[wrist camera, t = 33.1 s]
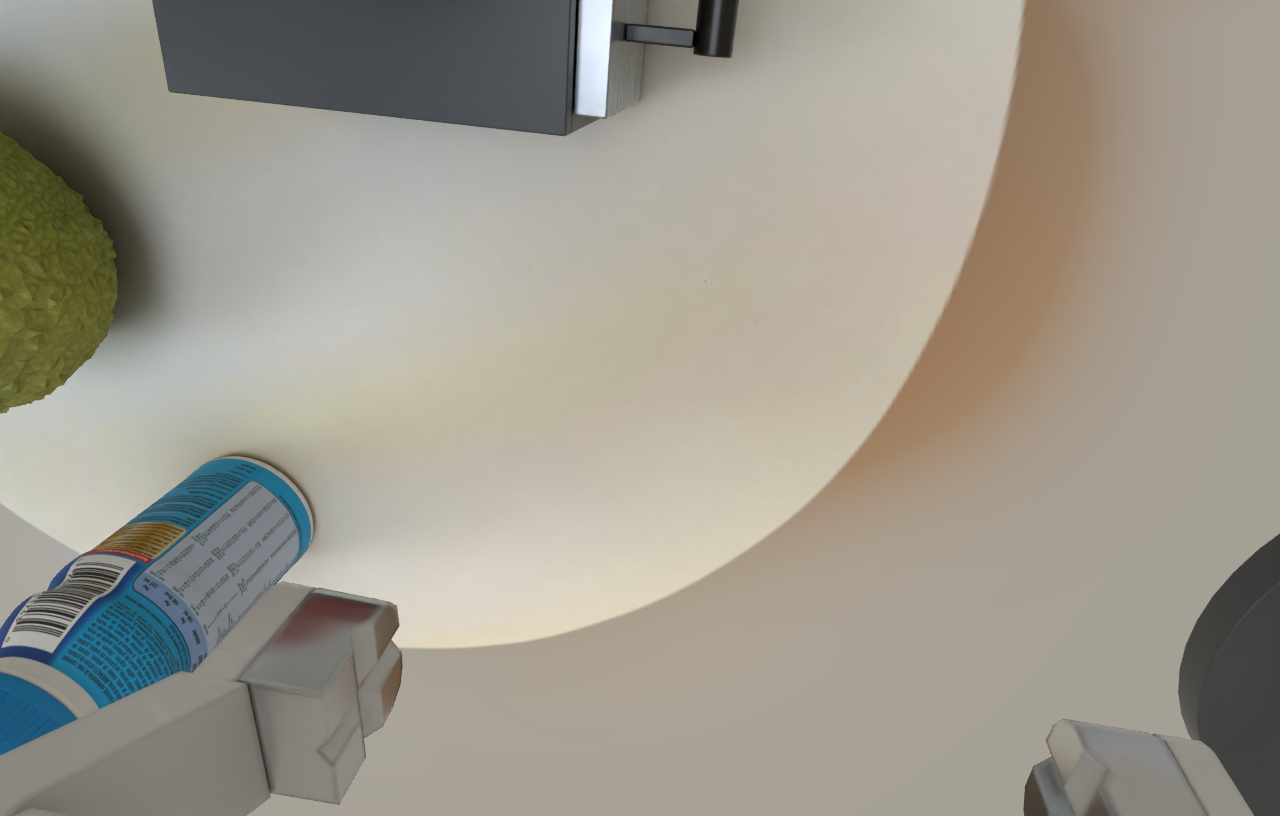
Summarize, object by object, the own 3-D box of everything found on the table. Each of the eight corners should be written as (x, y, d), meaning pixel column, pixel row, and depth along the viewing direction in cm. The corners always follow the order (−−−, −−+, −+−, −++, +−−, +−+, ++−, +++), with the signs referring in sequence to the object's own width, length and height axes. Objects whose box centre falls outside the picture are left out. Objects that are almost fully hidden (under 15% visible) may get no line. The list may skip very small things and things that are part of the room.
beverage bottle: (342, 507, 47) (84, 795, 29) (285, 583, 50) (25, 881, 33) (224, 424, 45) (-125, 674, 28) (174, 509, 49) (-162, 778, 31)
